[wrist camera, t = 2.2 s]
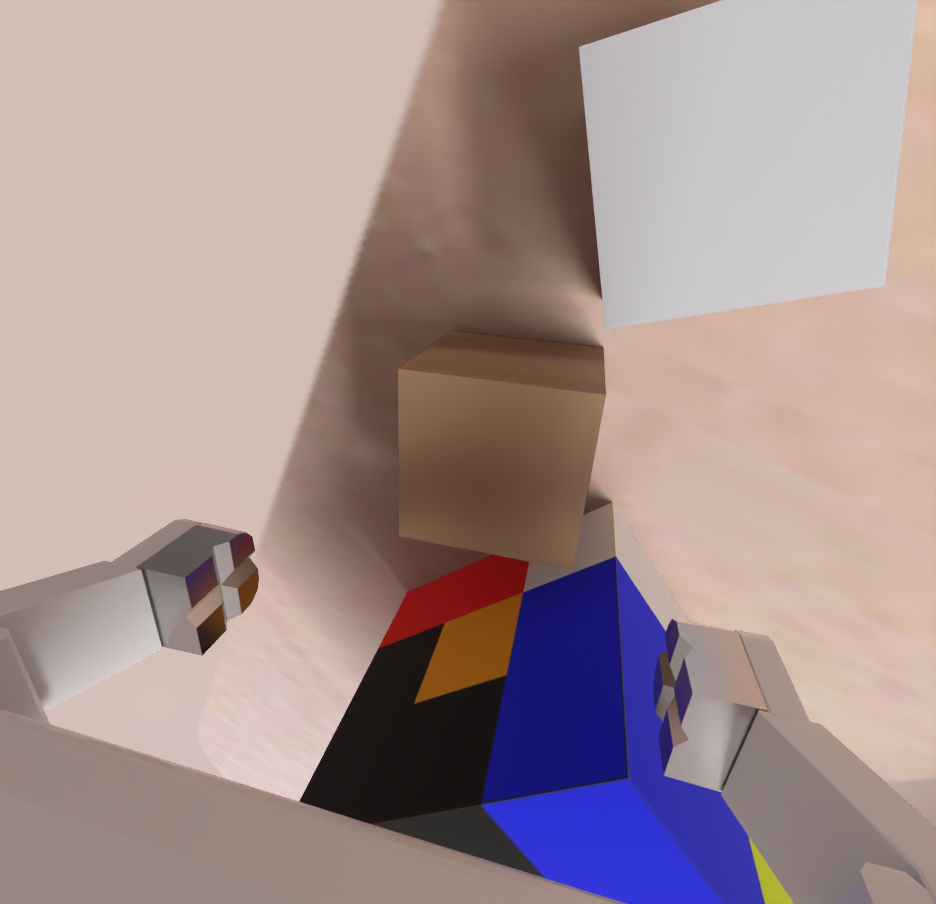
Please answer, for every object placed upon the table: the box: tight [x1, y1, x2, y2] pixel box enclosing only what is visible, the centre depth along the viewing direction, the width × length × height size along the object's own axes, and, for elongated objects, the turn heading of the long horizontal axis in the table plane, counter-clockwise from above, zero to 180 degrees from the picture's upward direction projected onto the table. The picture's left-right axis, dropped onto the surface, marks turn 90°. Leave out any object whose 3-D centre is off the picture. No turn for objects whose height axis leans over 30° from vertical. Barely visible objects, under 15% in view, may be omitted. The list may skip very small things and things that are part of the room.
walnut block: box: [398, 331, 606, 570], centre depth 15 cm, size 5×5×5 cm
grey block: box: [579, 0, 918, 330], centre depth 11 cm, size 5×5×5 cm
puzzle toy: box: [299, 502, 794, 904], centre depth 16 cm, size 10×10×10 cm
